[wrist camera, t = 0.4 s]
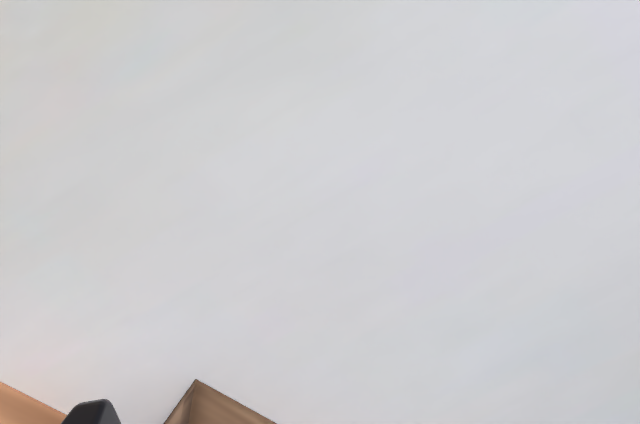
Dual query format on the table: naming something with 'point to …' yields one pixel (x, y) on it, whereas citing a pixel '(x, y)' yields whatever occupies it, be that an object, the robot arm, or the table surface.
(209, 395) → the brown boxy piece
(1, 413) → the wooden key
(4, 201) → the table surface
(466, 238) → the table surface
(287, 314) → the table surface
